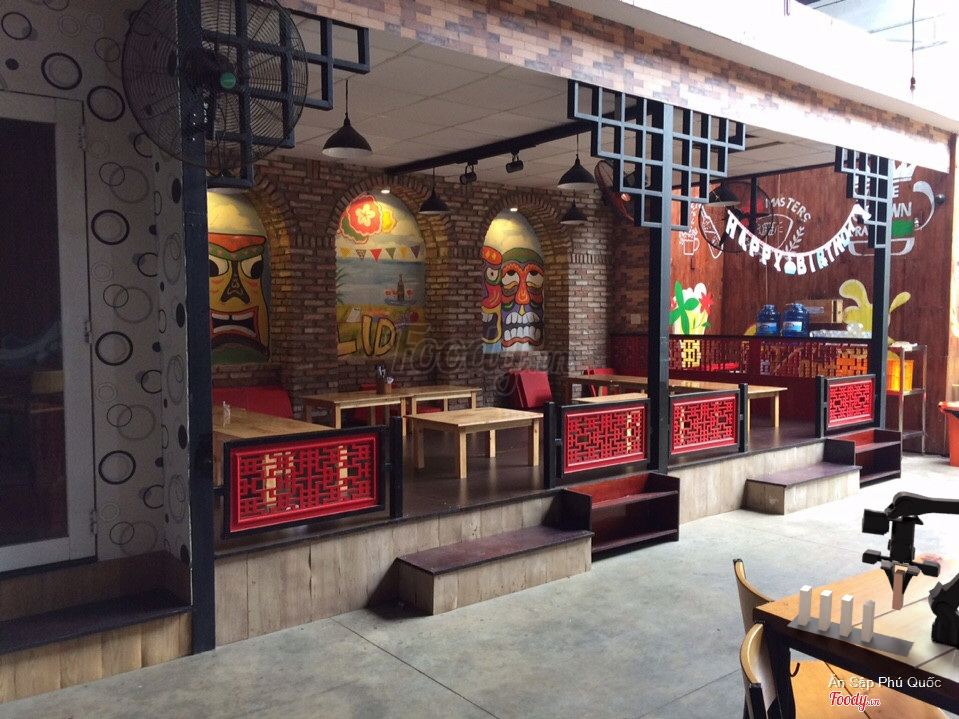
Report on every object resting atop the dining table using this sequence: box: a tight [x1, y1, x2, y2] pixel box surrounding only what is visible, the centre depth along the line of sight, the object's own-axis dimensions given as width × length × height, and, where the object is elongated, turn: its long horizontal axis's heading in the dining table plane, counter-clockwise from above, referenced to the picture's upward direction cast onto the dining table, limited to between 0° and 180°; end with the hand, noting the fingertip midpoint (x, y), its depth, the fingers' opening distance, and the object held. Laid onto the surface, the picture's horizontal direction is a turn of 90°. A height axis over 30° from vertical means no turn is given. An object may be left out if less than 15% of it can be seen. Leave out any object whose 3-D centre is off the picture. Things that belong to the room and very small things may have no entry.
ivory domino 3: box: [839, 594, 855, 637], centre depth 216 cm, size 2×5×10 cm, turn 143°
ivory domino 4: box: [861, 599, 876, 642], centre depth 213 cm, size 2×5×10 cm, turn 143°
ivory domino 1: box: [797, 584, 813, 626], centre depth 223 cm, size 2×5×10 cm, turn 143°
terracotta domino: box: [891, 568, 907, 611], centre depth 217 cm, size 2×5×10 cm, turn 143°
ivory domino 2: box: [818, 589, 833, 631], centre depth 220 cm, size 2×5×10 cm, turn 143°
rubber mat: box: [787, 613, 915, 658], centre depth 216 cm, size 30×12×1 cm, turn 53°
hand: (898, 592), depth 217 cm, fingers closed on terracotta domino, 2 cm apart
